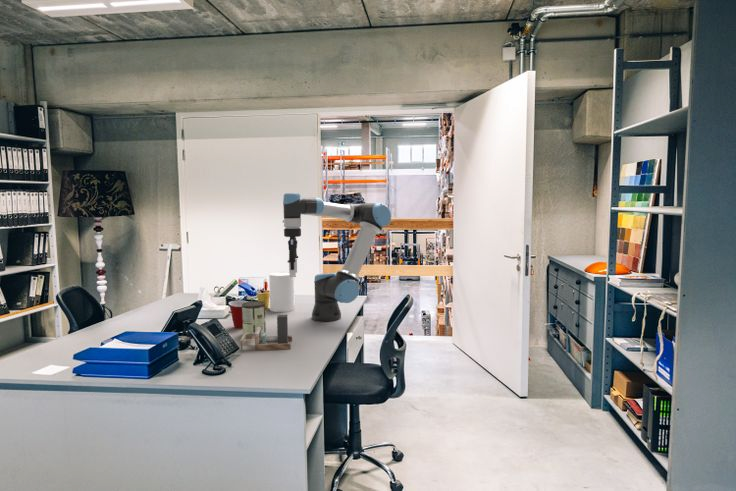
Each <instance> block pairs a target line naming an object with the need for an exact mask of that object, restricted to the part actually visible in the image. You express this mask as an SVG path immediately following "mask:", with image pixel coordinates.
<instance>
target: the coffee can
mask: <svg viewBox="0 0 736 491" xmlns="http://www.w3.org/2000/svg"><path fill="white" fill-rule="evenodd" d="M242 316H243V328H242V333H243V334H244V333H255V332H256V330H257V328H258V327H261V332H262V335H263V333H266V334H267V331H266V330H267V329H266V328H267V327H266V302H264V301H259V300H254V301H248V302H245V303H243V304H242ZM243 334H242V335H243Z"/></svg>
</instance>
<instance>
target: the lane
mask: <svg viewBox="0 0 736 491" xmlns="http://www.w3.org/2000/svg"><path fill="white" fill-rule="evenodd" d="M254 336H255V339H252V337H254ZM272 337H277V335H275V336H267V335H266V338H272ZM259 338H260V340H261V342H260V344H259ZM274 342H276V343H274ZM290 342H293V335H288V343H281V344H278V341H266V344H262V332H261V327H258V328H257V330H256V332H255V333H244V334H242V336H241V339H240V340H239V346H240V347H239V350H240V351H254V350H255V351H265V350H266V351H267V350H268V351H269V350H273V351H274V350H290V349H291V343H290Z"/></svg>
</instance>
